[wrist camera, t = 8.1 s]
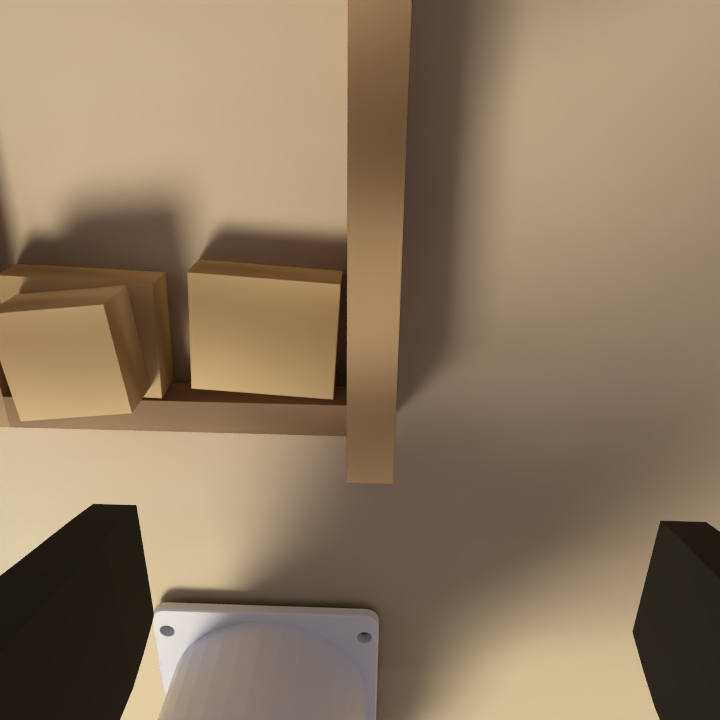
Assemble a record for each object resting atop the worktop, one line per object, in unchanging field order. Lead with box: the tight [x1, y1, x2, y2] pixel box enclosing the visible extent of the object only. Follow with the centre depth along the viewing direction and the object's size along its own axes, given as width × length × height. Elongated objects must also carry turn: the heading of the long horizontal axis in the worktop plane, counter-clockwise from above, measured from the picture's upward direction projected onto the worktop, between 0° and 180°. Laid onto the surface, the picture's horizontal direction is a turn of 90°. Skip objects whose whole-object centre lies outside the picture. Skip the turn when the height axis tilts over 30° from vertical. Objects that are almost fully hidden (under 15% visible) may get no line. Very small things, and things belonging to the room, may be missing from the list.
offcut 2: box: [0, 285, 151, 421], centre depth 17 cm, size 3×3×2 cm
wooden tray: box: [0, 0, 412, 484], centre depth 15 cm, size 17×12×4 cm
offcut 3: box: [187, 259, 343, 399], centre depth 19 cm, size 3×4×2 cm
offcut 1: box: [0, 264, 174, 398], centre depth 19 cm, size 3×4×2 cm
